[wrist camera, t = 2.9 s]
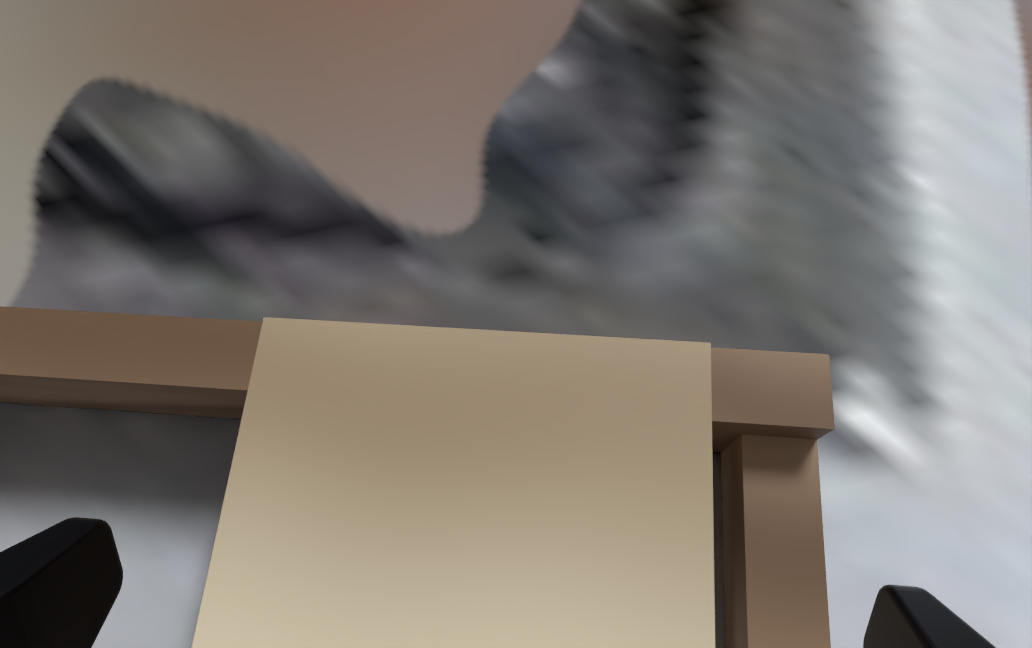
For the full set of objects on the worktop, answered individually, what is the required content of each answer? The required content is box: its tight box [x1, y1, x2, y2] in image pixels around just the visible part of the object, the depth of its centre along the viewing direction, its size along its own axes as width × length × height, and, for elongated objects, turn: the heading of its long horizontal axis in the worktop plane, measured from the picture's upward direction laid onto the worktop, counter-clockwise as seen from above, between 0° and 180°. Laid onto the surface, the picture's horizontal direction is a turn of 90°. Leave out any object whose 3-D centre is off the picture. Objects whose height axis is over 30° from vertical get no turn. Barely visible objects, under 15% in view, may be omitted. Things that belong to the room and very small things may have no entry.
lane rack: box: [0, 307, 835, 648], centre depth 15 cm, size 9×22×3 cm, turn 85°
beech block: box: [192, 317, 715, 648], centre depth 11 cm, size 5×5×10 cm
